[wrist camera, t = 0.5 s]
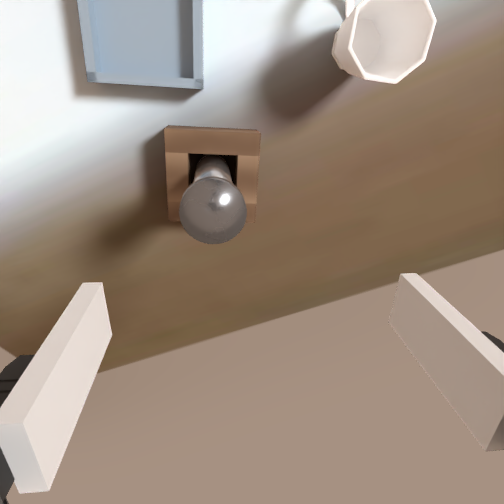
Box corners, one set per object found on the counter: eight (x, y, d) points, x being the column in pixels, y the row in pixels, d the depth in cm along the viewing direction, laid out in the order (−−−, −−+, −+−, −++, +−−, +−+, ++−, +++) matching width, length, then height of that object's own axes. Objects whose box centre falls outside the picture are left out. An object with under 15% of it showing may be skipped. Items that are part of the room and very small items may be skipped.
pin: (189, 147, 36) (177, 178, 23) (235, 149, 36) (248, 180, 24) (190, 192, 38) (180, 243, 25) (234, 193, 38) (245, 244, 26)
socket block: (168, 125, 34) (164, 128, 31) (256, 129, 35) (260, 133, 32) (172, 210, 38) (168, 221, 35) (251, 212, 39) (255, 222, 36)
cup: (324, 95, 35) (354, 96, 28) (304, -23, 30) (334, -59, 23) (391, 74, 35) (438, 70, 27) (380, -47, 30) (434, -91, 23)
